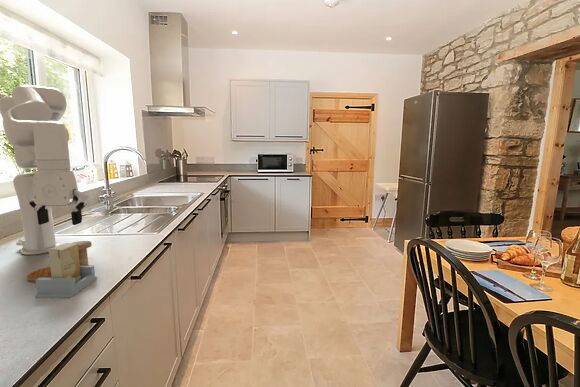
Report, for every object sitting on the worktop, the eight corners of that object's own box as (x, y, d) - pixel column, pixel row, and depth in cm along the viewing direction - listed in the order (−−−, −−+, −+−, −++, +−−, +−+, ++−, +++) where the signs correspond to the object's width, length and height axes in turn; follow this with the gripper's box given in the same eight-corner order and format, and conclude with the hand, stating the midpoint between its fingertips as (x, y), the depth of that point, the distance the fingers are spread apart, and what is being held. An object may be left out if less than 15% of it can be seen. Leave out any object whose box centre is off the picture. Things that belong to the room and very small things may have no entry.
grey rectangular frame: (35, 297, 86) (33, 281, 85) (65, 278, 98) (63, 264, 97) (71, 297, 86) (69, 281, 85) (96, 278, 98) (95, 264, 97)
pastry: (24, 285, 93) (22, 273, 93) (31, 276, 99) (29, 265, 99) (61, 279, 97) (60, 268, 97) (65, 271, 103) (64, 261, 103)
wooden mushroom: (64, 276, 99) (60, 247, 97) (78, 267, 106) (75, 240, 104) (85, 276, 99) (82, 247, 97) (98, 267, 106) (95, 240, 104)
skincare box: (65, 289, 88) (60, 250, 86) (51, 288, 89) (46, 249, 87) (82, 280, 95) (78, 243, 93) (70, 279, 95) (66, 242, 93)
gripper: (11, 166, 82) (19, 226, 85) (75, 167, 82) (81, 227, 85) (33, 164, 89) (41, 219, 92) (92, 165, 90) (98, 220, 92)
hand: (60, 223), depth 89 cm, fingers open, 9 cm apart
